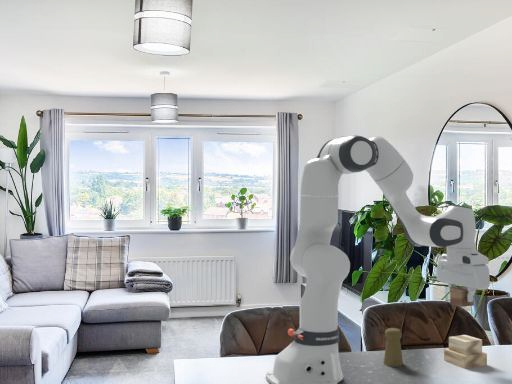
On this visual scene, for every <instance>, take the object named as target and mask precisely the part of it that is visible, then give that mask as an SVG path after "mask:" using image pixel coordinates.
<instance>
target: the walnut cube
mask: <svg viewBox="0 0 512 384" xmlns="http://www.w3.org/2000/svg"><path fill="white" fill-rule="evenodd" d="M468 292H469V291H467V287H463V286H459V287H455V288H450V289H449V298H450V299H449V301H450V303H449V304H450V305H453V306H456V307H460V308H463V307H464V308H465V307H472V306H475V295H474V296H473V301H472V302H468V301H466V300H465V299H466V298H465V296H467V295H468Z"/></svg>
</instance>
